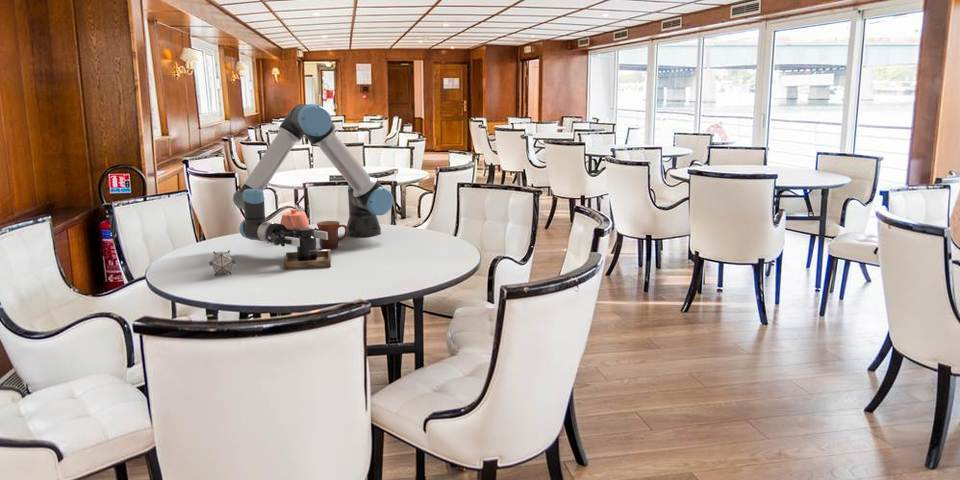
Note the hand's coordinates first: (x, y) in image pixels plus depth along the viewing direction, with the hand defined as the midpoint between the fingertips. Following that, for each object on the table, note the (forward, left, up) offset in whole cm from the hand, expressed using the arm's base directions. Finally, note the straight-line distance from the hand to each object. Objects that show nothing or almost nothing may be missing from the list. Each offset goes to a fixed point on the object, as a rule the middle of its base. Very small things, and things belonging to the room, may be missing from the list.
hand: (313, 239), depth 253 cm
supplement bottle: (+3, -2, -9) cm, 9 cm away
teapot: (+9, -50, -9) cm, 52 cm away
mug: (-7, -25, -9) cm, 28 cm away
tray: (+2, -2, -9) cm, 10 cm away
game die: (+30, +8, -9) cm, 33 cm away
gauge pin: (0, -14, -9) cm, 17 cm away
